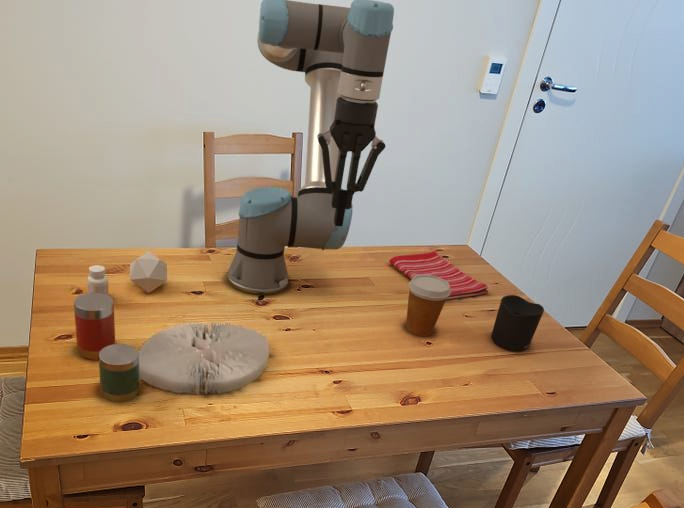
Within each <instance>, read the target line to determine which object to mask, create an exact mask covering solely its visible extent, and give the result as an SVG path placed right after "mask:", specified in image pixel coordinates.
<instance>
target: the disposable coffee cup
mask: <svg viewBox="0 0 684 508" xmlns="http://www.w3.org/2000/svg"><path fill="white" fill-rule="evenodd" d="M407 284H408V290H409V291H408V300H407V301H408V302H407V309H406V321H405V328H406V330H407V331H408V332H409V333H411V334H413V335H416V336H421V337H422V336H423V337H424V336H425V337H426V336H430V335H432V334H433V331H434V329H435V327H436V324H437V322H438V320H439V317H440V316H441V313H442V310H443V308H444V306H445V303H446V301H447V300H448V299H447V298H448V296H449V295H450V293H451V291H450V285H449V284H448V282H446V281H445V280H443V279H441V278H439V277H436V276H431V275H416V276H414V277H413V278H412V280H411V279H410V281H409V282H408V283H407Z"/></svg>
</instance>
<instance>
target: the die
mask: <svg viewBox="0 0 684 508" xmlns="http://www.w3.org/2000/svg"><path fill="white" fill-rule="evenodd" d="M129 264H130V265H129V281H131V282H132V283H133V284H134V285H136V286H137V287H139V288H141V289H142V290H143V291H145V292H146V293H147V294H150V293H152V292H153V291H154V290H156V289H157V288H159V287H160V286H162V285H164V284H165V283H166V282H167V281H168V263H166V262H165V261H163V260H162V259H160V258H159V257H158V256H156V255H155V254H153V253H152V252H151V251H149V250H148V251H147V252H145V253H143V254H142V255H140V256H139V257H137V258H136V259H134V260H133V261H131V262H130V263H129Z"/></svg>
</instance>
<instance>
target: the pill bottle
mask: <svg viewBox="0 0 684 508" xmlns="http://www.w3.org/2000/svg"><path fill="white" fill-rule="evenodd" d="M87 293H103V294H106V295H109V293H110V292H109V278H108V276H107V275H106V267H105V266H103V265H101V264H100V265H99V264H95V265H91V266H89V268H88V277H87ZM109 296H110V295H109Z"/></svg>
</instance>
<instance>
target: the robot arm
mask: <svg viewBox="0 0 684 508" xmlns="http://www.w3.org/2000/svg"><path fill="white" fill-rule="evenodd" d="M394 15H395V8H394V6H393V4H391V3H389V2H384V1H380V0H353V1H351V3H350V7H346V6H340V5H339V6H338V5H329V4H319V3H310V2H303V1H296V0H295V1H294V0H262V1H261V3H260V9H259V19H258V20H259V21H258V33H257V46H258V49H259V52H260V53H261V55H262V56H263V57H264V59H265V60H267V61H268V62H269V63H271V64H273V65H274V66H276V67H278V68H281V69H283V70H287V71H291V72H298V73H304V82H305V84H306V85H308V86H309V88H310V90H309V91H310V93H309V108H308V109H309V110H308V126H307V144H306V159H305V160H306V161H305V179H304V185H303V186H302V187H300V188H299V189H298V192H297V197H294V196H292V194H291V192H290V191H289V189H286V188H283V187H279V186H259V187H254V188H252V189H249V190H247V191H246V192H244V194H243V195H242V196H241V198H240V204H239V210H238V216H239V218H238V231H237V242H236V250H235V253H234V255H233V258H232V260H231V262H230V265H229V268H228V271H227V279H226V280H227V282H228V285H230V286H231V287H233V288H234V289H235V290H238V291H240V292H242V293H245V294H250V295H258V296H269V295H275V294H278V293H281V292H283V291H284V290H286V289H287V287H288V285H289V273H288V269H287V264H286V259H285V247H291V248H303V249H304V248H305V249H317V250H322V251H325V250H335V251H336V250H340V249H341V248H342V247H343V246H344V244H345V243H346V240H347V238H348V235H349V231H350V227H351V223H352V219H353V207H354V206H353V198H354V195H355V193H357V192H359V193H360V192H361V193H362V192H364V190H365V187H366V186H367V183H368V180H369V179H370V176H371V173H372V171H373V169H374V166H375V164H376V163H377V160H378V157H379V155H381V153H382V152H383V151H384V150H385V149H386V144H385V142H384V140H382V139H380V138H379V137H378V136H377V131H376V129H375V125H376V120H377V114H378V108H379V104H378V102H377V101H378V100H379V99H380V97H381V91H382V85H383V79H384V74H385V73H384V72H385V67H386V63H387V62H386V61H387V57H388V50H389V46H390V40H391V35H392V31H393V30H394V29H393V28H394V24H393V23H394ZM369 145H370V147H371V148H370V151H369V153H368V154H367V157H366V160H365V162H364V164H363V167H362V168H361V169H362V170H361V171H360V174H359V176H358V171H359V165H360V159H361V154H362V152H363V151H364V150H365V149H366V148H367V147H368V146H369ZM350 152H351V157H350V163H349V169H348V176H347V181H346V189H344V188H342V186H343V179H344V172H345V167H346V162H347V161H346V160H347V157H348V153H350ZM357 176H358V178H357Z"/></svg>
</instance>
